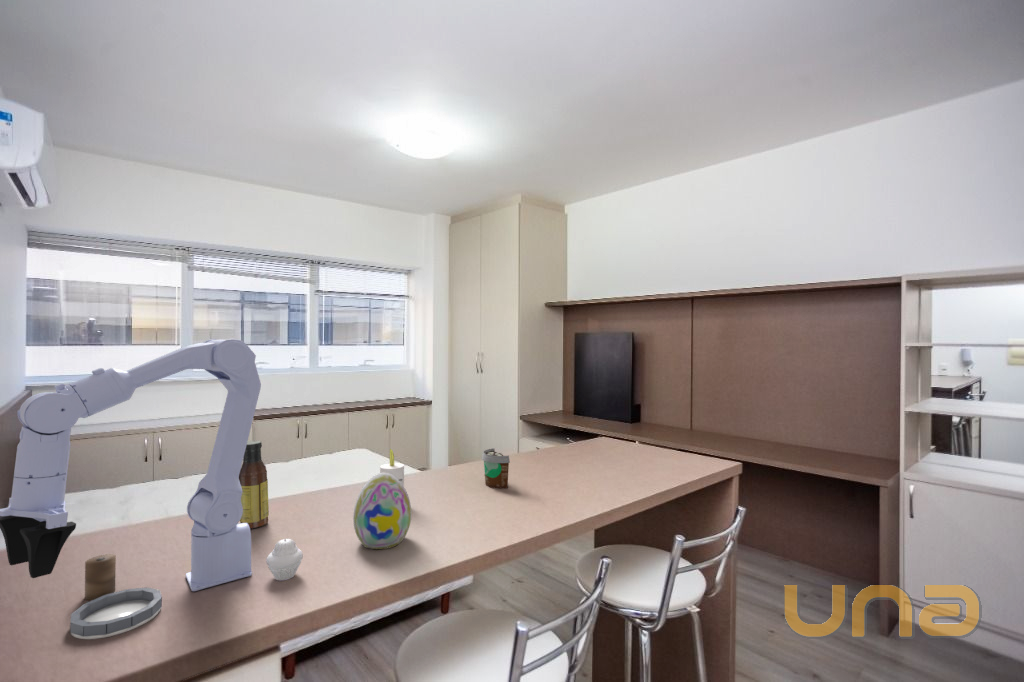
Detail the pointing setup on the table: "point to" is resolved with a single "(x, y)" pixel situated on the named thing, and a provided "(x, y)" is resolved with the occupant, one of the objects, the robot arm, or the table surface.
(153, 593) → the ring dish
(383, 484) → the decorative egg
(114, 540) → the table surface
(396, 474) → the candle
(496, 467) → the food container
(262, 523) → the sauce bottle
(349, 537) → the table surface
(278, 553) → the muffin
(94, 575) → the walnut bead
